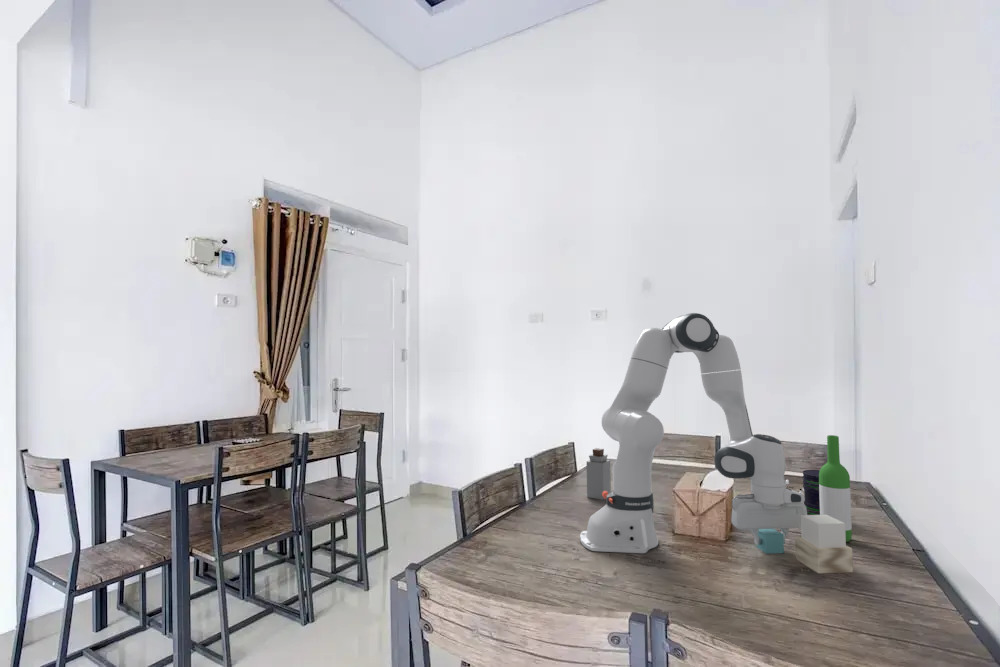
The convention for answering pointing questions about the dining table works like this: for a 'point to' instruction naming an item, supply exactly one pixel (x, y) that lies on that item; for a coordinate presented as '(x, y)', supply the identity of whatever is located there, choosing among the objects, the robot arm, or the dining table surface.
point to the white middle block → (823, 531)
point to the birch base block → (824, 557)
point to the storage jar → (811, 491)
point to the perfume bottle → (598, 474)
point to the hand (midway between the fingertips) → (769, 543)
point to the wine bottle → (835, 487)
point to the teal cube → (771, 541)
